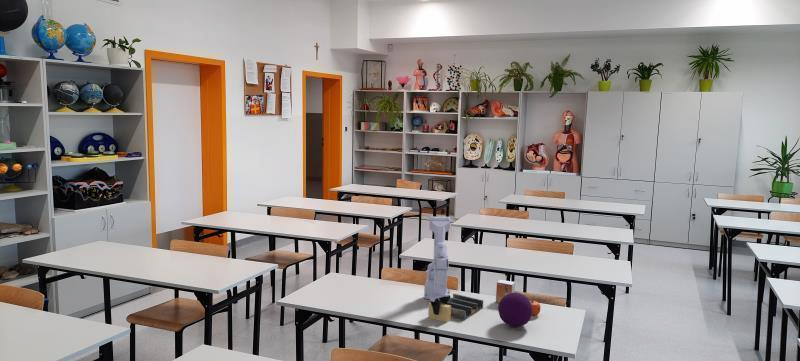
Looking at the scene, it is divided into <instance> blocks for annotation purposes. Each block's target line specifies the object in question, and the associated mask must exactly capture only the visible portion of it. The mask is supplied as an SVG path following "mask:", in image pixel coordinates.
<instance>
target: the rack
mask: <svg viewBox="0 0 800 361" xmlns="http://www.w3.org/2000/svg"><path fill="white" fill-rule="evenodd" d="M447 305H450V306H451V318H453V319H454V318H455V319H459V320H463V321H466V320H467V319H469V318H470V317H472V316H473V315H475V314H477V313H478V312H480V311H481V310H483V309H484V299H479V298H474V297H471V296H466V295H463V294H457V293H453V294H452V296H450V299H449V300H448V303H447Z"/></svg>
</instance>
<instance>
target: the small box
mask: <svg viewBox="0 0 800 361" xmlns="http://www.w3.org/2000/svg"><path fill="white" fill-rule="evenodd" d="M495 289H496V292H495V303H498V304H499V303H500V301H501V299H502V298H503V297H504V296H505V295H507V294H509V293H514V292H516V281H511V280H510V281H509V280H504V279H499V280H498V281H497V282H496V288H495Z"/></svg>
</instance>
